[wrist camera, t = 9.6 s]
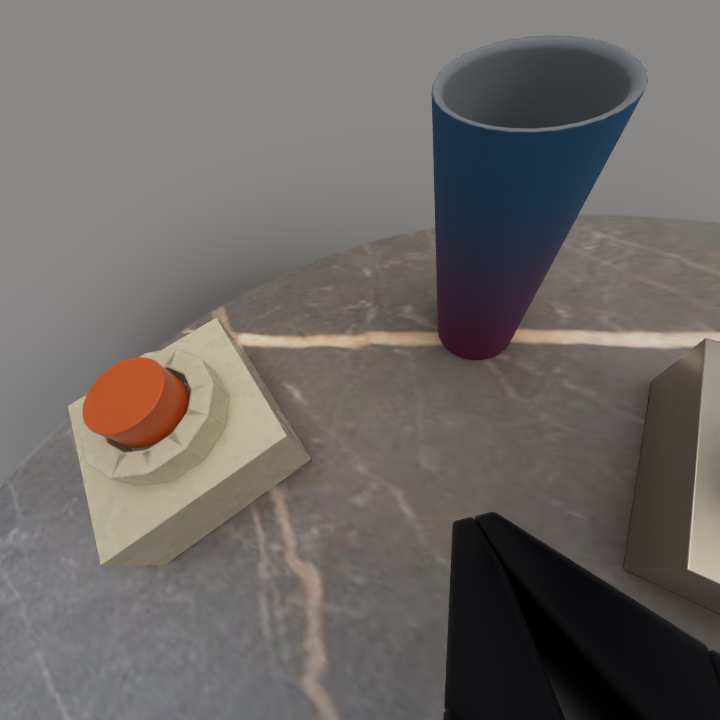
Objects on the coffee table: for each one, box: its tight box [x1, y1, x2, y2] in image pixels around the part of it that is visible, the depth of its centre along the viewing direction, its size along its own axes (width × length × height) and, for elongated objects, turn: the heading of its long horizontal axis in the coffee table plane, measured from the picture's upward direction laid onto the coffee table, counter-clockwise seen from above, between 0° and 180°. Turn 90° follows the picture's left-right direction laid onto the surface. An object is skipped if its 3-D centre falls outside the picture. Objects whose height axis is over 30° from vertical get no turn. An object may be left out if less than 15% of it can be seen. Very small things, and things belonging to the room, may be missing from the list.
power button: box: [82, 357, 188, 448], centre depth 17 cm, size 4×4×2 cm
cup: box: [432, 36, 648, 360], centre depth 18 cm, size 7×7×15 cm
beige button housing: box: [68, 318, 311, 565], centre depth 20 cm, size 10×10×6 cm
